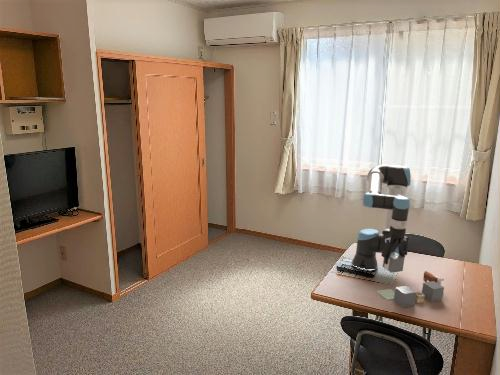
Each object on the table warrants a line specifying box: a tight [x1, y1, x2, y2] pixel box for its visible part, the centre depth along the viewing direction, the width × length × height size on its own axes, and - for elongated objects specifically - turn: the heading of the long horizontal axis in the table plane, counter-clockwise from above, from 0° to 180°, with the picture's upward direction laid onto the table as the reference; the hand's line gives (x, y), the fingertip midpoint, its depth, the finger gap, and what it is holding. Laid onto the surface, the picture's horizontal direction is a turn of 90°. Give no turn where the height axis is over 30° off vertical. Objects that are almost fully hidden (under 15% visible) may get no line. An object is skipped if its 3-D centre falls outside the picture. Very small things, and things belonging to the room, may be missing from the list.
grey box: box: [382, 252, 405, 274], centre depth 199 cm, size 7×7×8 cm
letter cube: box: [415, 291, 425, 304], centre depth 199 cm, size 4×4×4 cm
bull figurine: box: [423, 270, 444, 286], centre depth 212 cm, size 4×13×8 cm, turn 15°
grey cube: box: [421, 281, 445, 303], centre depth 201 cm, size 7×7×8 cm
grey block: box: [393, 285, 417, 309], centre depth 195 cm, size 7×7×8 cm
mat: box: [376, 288, 395, 301], centre depth 204 cm, size 9×9×1 cm
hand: (392, 268), depth 200 cm, fingers closed on grey box, 7 cm apart
